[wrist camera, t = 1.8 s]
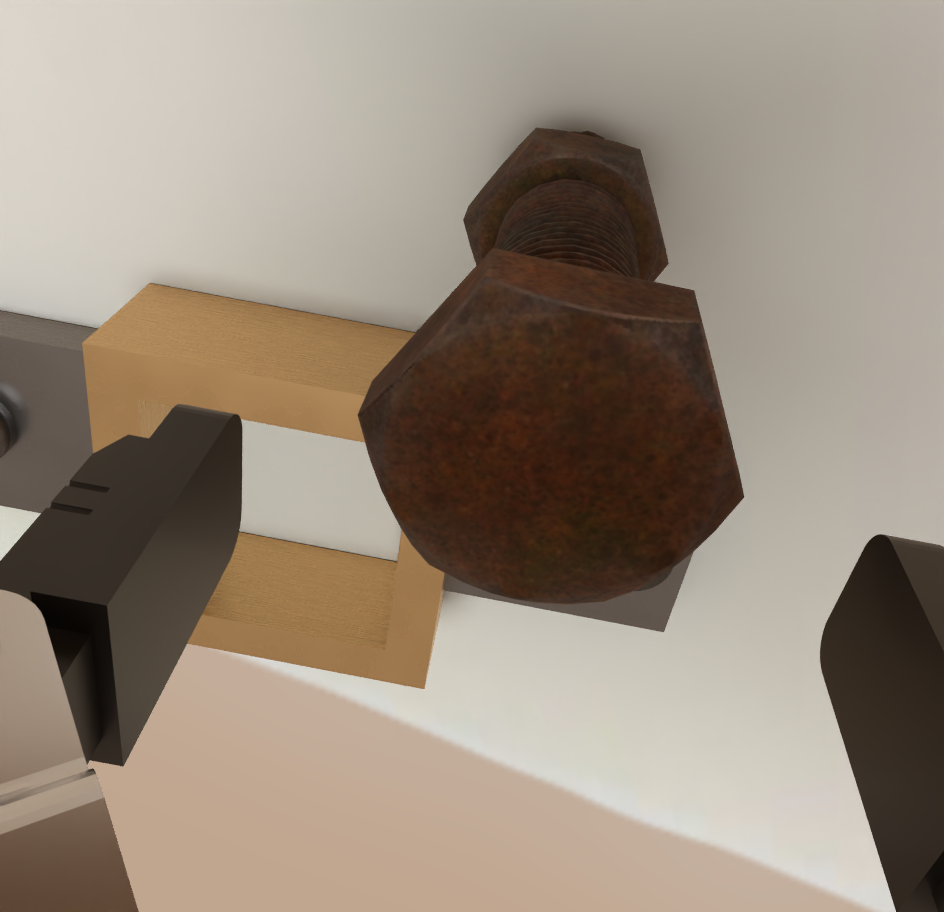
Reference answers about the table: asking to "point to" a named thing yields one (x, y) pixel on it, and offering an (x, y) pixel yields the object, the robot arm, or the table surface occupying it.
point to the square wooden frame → (287, 405)
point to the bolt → (557, 392)
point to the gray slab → (41, 409)
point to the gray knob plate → (610, 601)
